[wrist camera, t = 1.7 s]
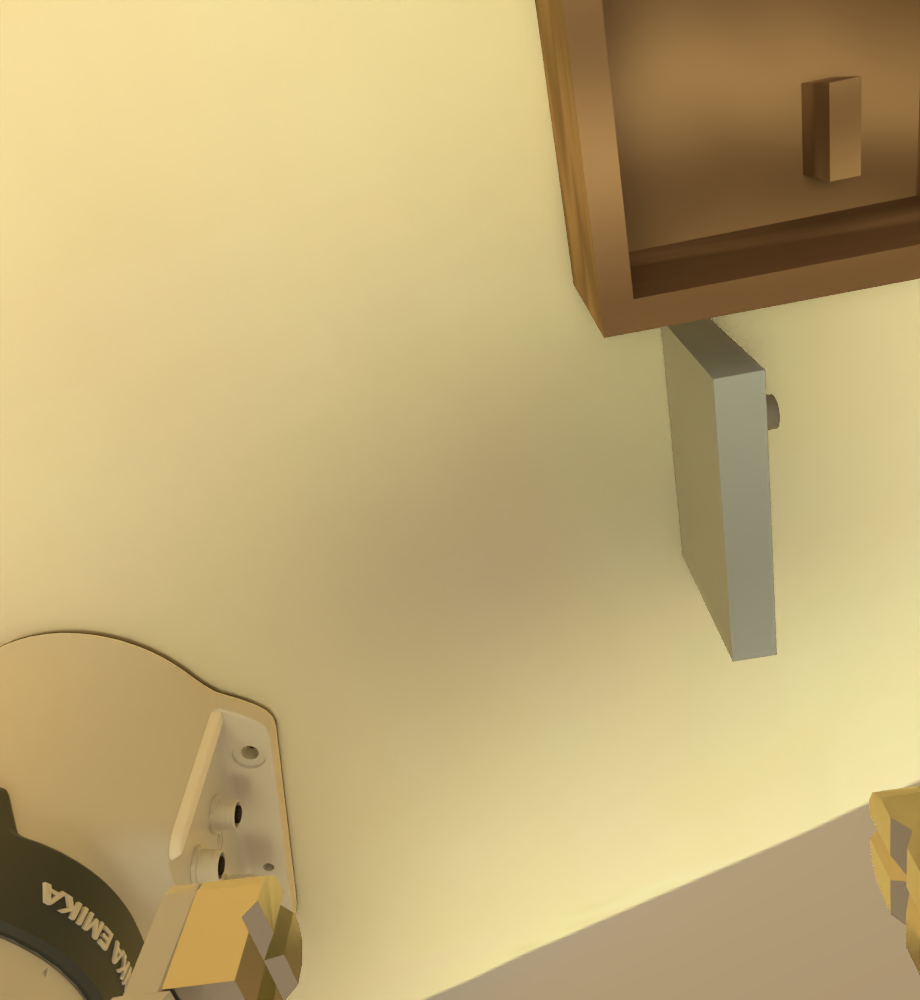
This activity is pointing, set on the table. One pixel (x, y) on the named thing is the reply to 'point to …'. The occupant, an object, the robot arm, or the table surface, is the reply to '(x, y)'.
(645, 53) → the wooden box
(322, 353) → the table surface
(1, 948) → the robot arm
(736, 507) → the door
